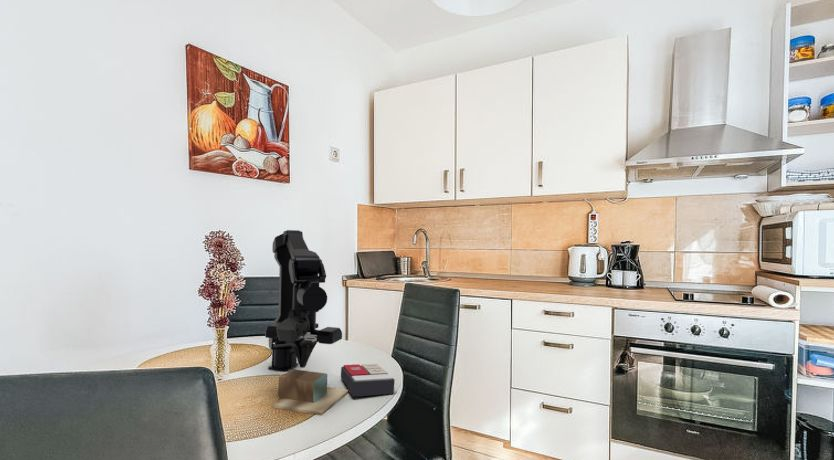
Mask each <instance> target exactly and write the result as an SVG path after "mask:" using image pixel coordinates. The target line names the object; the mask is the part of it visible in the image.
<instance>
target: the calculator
mask: <svg viewBox="0 0 834 460" xmlns="http://www.w3.org/2000/svg"><path fill="white" fill-rule="evenodd" d="M340 379H341V380H342V381H343V383H344V384H345V385H346V387H347V388H348V390H349V394H350V395H351V396H352V397H355V398H356V397H366V396H381V395H393V394H394V393H395V378H394V377H393V376H391V375H390V374H389V372H388V371H386V370H385V369H384V368H382V366H380V365H379V364H378V363H365V364H364V363H363V364H358V363H357V364H344V365H343V366H341V368H340Z"/></svg>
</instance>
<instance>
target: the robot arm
mask: <svg viewBox="0 0 834 460" xmlns="http://www.w3.org/2000/svg"><path fill="white" fill-rule="evenodd" d="M272 241H273V242H272V253H273V254H274V255H273V256H274V260H275V262H276V264H277V265H278V266H279V273H278V274H279V278H278V279H279V284H278V290H279V291H278V315H277V316H276V318H275V319H274V320H273V323H272V324H269V325H267V327H266V329H265V330H264V331H265V335H264V336H265V338H267V339H268V348H269V349H270V351H271V365H270V366H268V367H267V368H268V369H269V370H273V371H274V370H275V371H282V372H289V371H291V370H292V369H293V368H295V367H297V366H298V365H299V368H300V369H302V368H305V367H306V366H307V364H308V361H309V359H310V357H311V354H312V353H313V351H314V348H316V345H317V343H319V344H323V345H333V344H335V343H336V342H339V341H341V340H342V339H343V331H342V330H341V328H340V327H335V326H334V327H333V326H332V327H331V326H326V327H325V328H321V329H318V328H319V323H317V313H318V312H319V311H320V310H323V309H324V307H325V306H326V305H327V303H328V295H327V292H326V291H325V289H323V288H322V287H320V284H321V283H326V279H327V273H326V269H325V265H324V263H323V260H322V259H321V258H320V255H318V254H317V252H315V251H314V250H313V251H312V250H310V249H309V248H308V245H307V243H306V241H305V239H304V235H303V231H302V230H298V229H297V230H295V229H292V230H291V229H286V230H284V231H283V233H281V234H279V235H277V236H275V237H274V239H273V240H272Z"/></svg>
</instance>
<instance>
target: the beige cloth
mask: <svg viewBox="0 0 834 460" xmlns="http://www.w3.org/2000/svg"><path fill="white" fill-rule="evenodd" d="M347 394H350V392H349V389H345V388H339V387H332V386H327V394H326V395H324V396H323V397H322V398H320V399H319V400H318V401H316V402H315V403H311V402H304V401H298V400H292V399H285V398H280V399H279V400H277V401H276V402H274V403H271V408H275V409H280V410H281V409H282V410H286V411H293V412H298V413H305V414H311V415H317V416H323V414H325V413H326V412H327V411H329V410H330V409H331V408H332V407H333V406H334V405H336V404H337V403H339V402H340V401H341V400H342V399H343V398H344V397H346V396H347Z"/></svg>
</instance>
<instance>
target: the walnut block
mask: <svg viewBox="0 0 834 460" xmlns="http://www.w3.org/2000/svg"><path fill="white" fill-rule="evenodd" d="M327 387H328V373H325V372H318V371H317V372H316V371H312V370H311V371H309V370H301V369H295V368H294V369H293V368H292V369H290V370H288V371H286V372H285V373H283V374H281V375H280V376H278V387H277V388H278V390H277V393H278V397H277V398H280V399H282V398H285V399H292V400H298V401H304V402H311V403H315V402H316V401H318V400H319V399H320V398H322V397H323V396H324V395H326V394H327Z"/></svg>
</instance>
